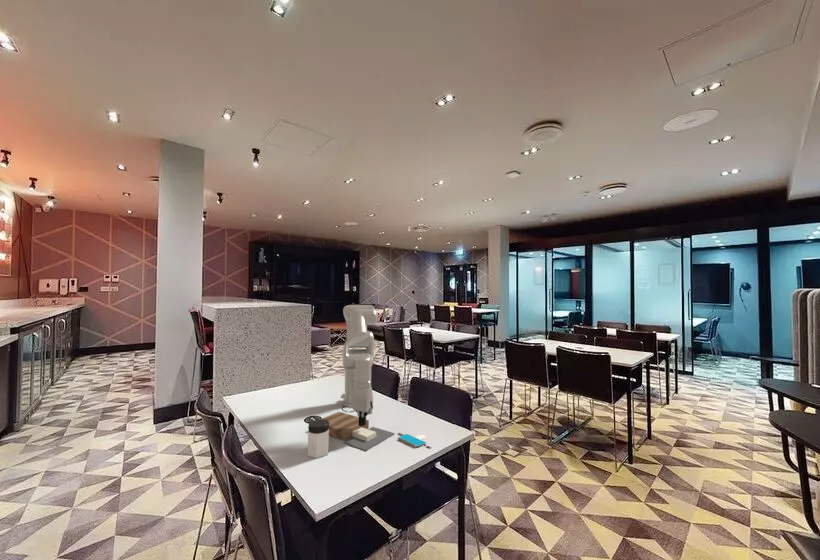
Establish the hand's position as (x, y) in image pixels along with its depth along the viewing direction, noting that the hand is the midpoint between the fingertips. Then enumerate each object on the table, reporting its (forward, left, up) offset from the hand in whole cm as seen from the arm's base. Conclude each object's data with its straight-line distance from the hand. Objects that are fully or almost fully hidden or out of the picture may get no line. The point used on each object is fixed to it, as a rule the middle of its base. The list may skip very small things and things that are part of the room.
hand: (362, 425), depth 151 cm
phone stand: (+22, +10, -6) cm, 25 cm away
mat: (+4, 0, -5) cm, 7 cm away
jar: (-4, -22, -5) cm, 23 cm away
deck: (-13, 0, -5) cm, 14 cm away
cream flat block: (+2, 0, -4) cm, 5 cm away
